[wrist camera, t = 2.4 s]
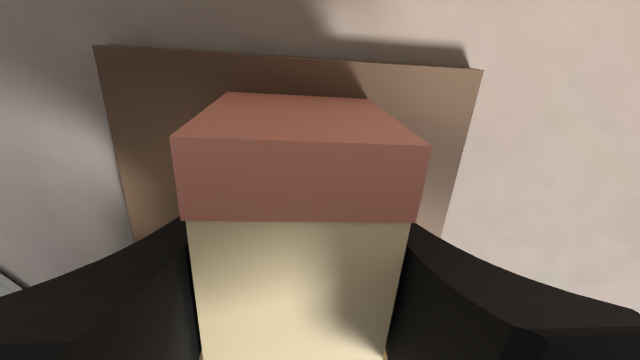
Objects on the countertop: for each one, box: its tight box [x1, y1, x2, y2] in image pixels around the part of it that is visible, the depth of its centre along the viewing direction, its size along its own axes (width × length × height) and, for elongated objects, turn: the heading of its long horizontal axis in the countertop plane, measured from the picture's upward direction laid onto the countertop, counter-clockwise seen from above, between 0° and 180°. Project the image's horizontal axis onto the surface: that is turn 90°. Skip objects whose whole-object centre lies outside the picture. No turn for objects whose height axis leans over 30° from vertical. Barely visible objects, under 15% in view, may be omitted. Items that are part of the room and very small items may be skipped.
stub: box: [169, 92, 432, 360], centre depth 9 cm, size 8×4×5 cm, turn 176°
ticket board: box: [93, 45, 484, 360], centre depth 11 cm, size 18×12×6 cm, turn 176°
